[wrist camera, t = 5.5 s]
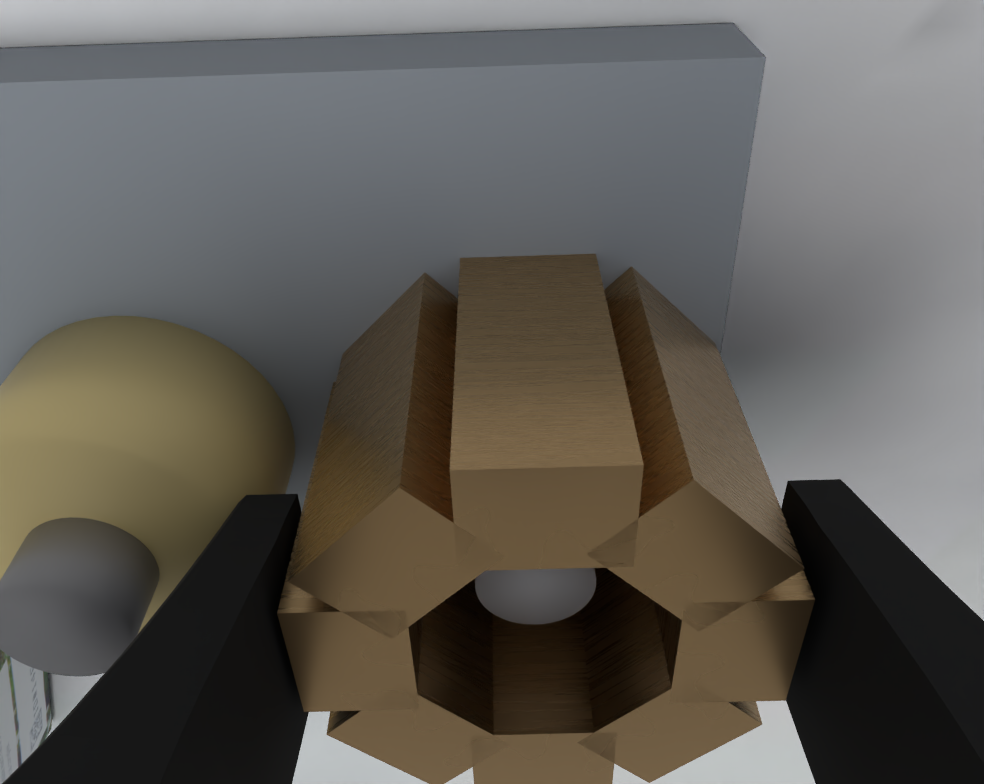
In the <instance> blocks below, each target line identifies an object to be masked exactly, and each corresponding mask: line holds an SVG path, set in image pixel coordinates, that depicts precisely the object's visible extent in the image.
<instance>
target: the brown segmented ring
mask: <svg viewBox="0 0 984 784" xmlns="http://www.w3.org/2000/svg"><path fill="white" fill-rule="evenodd" d="M568 568H595V574H596V589H595V592H594V595H593V596H592V598H591V600H590V601H589V602H588V604H587V605H586V606H585V607H583V608H582V609H581V610H580V611H578V612H577V613H575V614H574V615H572V616H570V617H568V618H565V619H563V620H560V621H556V622H552V623H546V624H520V623H515V622H511V621H507V620H505V619H502V618H500V617H498V616H496V615H494V614H493V613H491V612H490V611H488V610H487V609H486V608H485V607H484V606H483V605H482V603H481V602H480V600H479V599H478V597H477V594H476V589H475V578H476V577H477V576H479V575H480V574H481V573H483V572H484V571H490V570H529V569H568ZM804 569H805V568H804V566H803V563H802V561H801V558H800V556H799V553H798V551H797V548H796V546H795V543H794V541H793V538H792V536H791V533H790V531H789V528H788V526H787V523H786V521H785V518H784V515H783V513H782V510H781V508H780V505H779V503H778V500H777V498H776V495H775V493H774V490H773V488H772V485H771V483H770V480H769V478H768V475H767V473H766V470H765V468H764V465H763V462H762V460H761V457H760V455H759V452H758V450H757V447H756V445H755V442H754V440H753V437H752V435H751V432H750V430H749V427H748V425H747V422H746V420H745V417H744V415H743V412H742V409H741V407H740V404H739V402H738V399H737V397H736V394H735V392H734V389H733V387H732V384H731V382H730V379H729V377H728V374H727V372H726V369H725V367H724V364H723V362H722V359H721V356H720V354H719V351H718V349H717V346H716V344H715V343H714V342H713V341H712V340H711V339H710V338H709V337H708V336H707V335H706V334H705V333H704V332H703V331H701V330H700V329H699V328H698V327H697V326H696V325H695V324H694V323H693V322H692V321H691V320H690V319H688V318H687V317H686V316H685V315H684V314H683V313H682V312H681V311H680V310H679V309H678V308H677V307H675V306H674V305H673V304H672V303H671V302H670V301H669V300H668V299H667V298H666V297H665V296H664V295H662V294H661V293H660V292H659V291H658V290H657V289H656V288H655V287H654V286H653V285H652V284H651V283H649V282H648V281H647V280H646V279H645V278H644V277H643V276H642V275H641V274H640V273H639V272H638V271H636V270H635V269H634V268H633V267H632V266H631V267H630V268H629V269H628V270H627V271H625V272H624V273H623V274H622V275H621V276H620V277H618V278H617V279H616V280H615V281H614V282H613V283H611V284H610V285H609V286H608V287H607V288H606V289H605V290H604V287H603V283H602V278H601V274H600V270H599V265H598V261H597V256H596V254H569V255H535V256H502V257H469V258H460V270H459V290H458V298H456V297H455V296H454V295H453V294H451V293H450V292H449V291H448V290H446V289H445V288H444V287H443V286H441V285H440V284H439V283H438V282H436V281H435V280H434V279H433V278H431V277H430V276H429V275H427V274H426V273H425V272H424V273H423V274H422V275H421V276H420V277H419V278H418V279H417V280H416V281H415V282H414V283H413V284H412V285H411V286H410V287H409V288H408V289H407V290H406V291H405V292H404V293H403V294H402V295H401V296H400V297H399V298H398V299H397V300H396V301H395V302H394V303H393V304H392V305H391V306H390V307H389V308H388V309H387V310H386V311H385V312H384V313H383V314H382V315H381V316H380V317H379V318H378V319H377V320H376V321H375V322H374V323H373V324H372V325H371V326H370V327H369V328H368V329H367V330H366V331H365V332H364V333H363V334H362V335H361V336H360V337H359V338H358V339H357V340H356V341H355V342H354V343H353V344H352V345H351V346H350V347H349V348H348V349H347V350H346V351H345V352H344V353H343V354H342V359H341V363H340V367H339V371H338V375H337V380H336V382H333V386H332V390H331V394H330V398H329V402H328V406H327V410H326V414H325V418H324V423H323V427H322V431H321V435H320V439H319V443H318V447H317V451H316V455H315V459H314V464H313V468H312V472H311V476H310V480H309V484H308V488H307V492H306V496H305V501H304V505H303V509H302V513H301V517H300V521H299V525H298V529H297V533H296V538H295V542H294V546H293V550H292V554H291V558H290V562H289V566H288V570H287V575H286V579H285V583H284V587H283V591H282V595H281V599H280V603H279V607H278V612H277V615H278V618H279V622H280V626H281V629H282V633H283V637H284V640H285V644H286V648H287V651H288V655H289V659H290V662H291V666H292V670H293V673H294V677H295V681H296V684H297V688H298V692H299V695H300V699H301V703H302V706H303V710H304V712H318V711H330V717H329V723H328V729H327V735H328V736H331V737H333V738H335V739H337V740H339V741H341V742H343V743H345V744H347V745H349V746H351V747H354V748H356V749H358V750H360V751H362V752H364V753H366V754H368V755H370V756H372V757H374V758H377V759H379V760H381V761H383V762H385V763H387V764H389V765H391V766H393V767H395V768H398V769H400V770H402V771H404V772H406V773H408V774H410V775H412V776H414V777H416V778H418V779H421V780H423V781H425V782H427V783H429V784H444V783H446V782H448V781H449V780H451V779H453V778H454V777H456V776H458V775H459V774H461V773H463V772H464V771H466V770H468V769H470V768H471V767H473V774H474V784H612V780H613V769H614V763H615V764H616V765H618V766H620V767H622V768H624V769H625V770H627V771H629V772H631V773H633V774H634V775H636V776H638V777H640V778H642V779H643V780H645V781H647V782H649V783H650V782H652V781H654V780H656V779H658V778H660V777H662V776H663V775H665V774H667V773H669V772H671V771H673V770H675V769H677V768H679V767H681V766H683V765H685V764H687V763H689V762H691V761H692V760H694V759H696V758H698V757H700V756H702V755H704V754H706V753H708V752H710V751H712V750H714V749H716V748H718V747H720V746H722V745H723V744H725V743H727V742H729V741H731V740H733V739H735V738H737V737H739V736H741V735H743V734H745V733H747V732H749V731H751V730H752V729H754V728H756V727H758V726H760V725H762V722H761V718H760V715H759V711H758V708H757V704H756V701H781V700H786V698H787V694H788V691H789V688H790V684H791V681H792V677H793V674H794V670H795V667H796V664H797V660H798V657H799V653H800V650H801V646H802V643H803V640H804V636H805V633H806V629H807V626H808V622H809V619H810V616H811V612H812V609H813V605H814V602H815V598H814V596H813V593H812V590H811V588H810V585H809V583H808V580H807V578H806V575H805V573H804Z"/></svg>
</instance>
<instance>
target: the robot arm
mask: <svg viewBox="0 0 984 784" xmlns="http://www.w3.org/2000/svg"><path fill="white" fill-rule="evenodd" d="M781 510H782V513H783V515H784V518H785V521H786V523H787V526H788V528H789V531H790V533H791V536H792V538H793V541H794V543H795V546H796V548H797V551H798V553H799V556H800V558H801V561H802V563H803V566H804V568H805V569H804V573H805V575H806V578H807V580H808V583H809V585H810V588H811V590H812V593H813V596H814V598H815V602H814V605H813V609H812V612H811V616H810V619H809V622H808V626H807V629H806V633H805V636H804V640H803V643H802V646H801V650H800V653H799V657H798V660H797V664H796V667H795V670H794V674H793V677H792V681H791V684H790V688H789V691H788V694H787V698H786V701H787V704H788V707H789V710H790V713H791V715H792V718H793V721H794V724H795V727H796V730H797V732H798V735H799V738H800V741H801V744H802V747H803V749H804V752H805V755H806V758H807V761H808V763H809V766H810V769H811V772H812V774H813V777H814V780H815V783H816V784H984V621H983V620H982V619H981V618H980V617H979V616H978V615H977V614H976V613H975V612H974V611H973V610H972V609H970V608H969V607H968V606H967V605H966V604H965V603H964V602H963V601H962V600H961V599H960V598H959V597H958V596H957V595H956V594H955V593H954V592H952V591H951V590H950V589H949V588H948V587H947V586H946V585H945V584H944V583H943V582H942V581H941V580H940V579H939V578H938V577H937V576H936V575H935V574H934V573H933V572H932V571H931V570H930V569H929V568H928V567H927V566H926V565H925V564H924V563H923V562H922V561H921V560H920V559H919V558H918V557H917V556H916V555H915V554H914V553H913V552H912V551H911V550H910V549H909V548H908V547H907V546H906V545H905V544H904V543H903V542H902V541H901V540H900V539H899V538H898V537H897V536H896V535H895V534H894V533H893V532H892V531H891V530H890V529H889V528H888V527H887V526H886V525H885V524H884V523H883V522H882V521H881V520H880V519H879V518H878V517H877V516H876V515H875V514H874V513H873V512H872V511H871V510H870V509H869V508H868V507H867V505H866V504H865V503H864V502H863V501H862V500H861V499H860V498H859V497H858V496H857V495H856V494H855V493H854V492H853V491H852V490H851V489H850V488H849V487H848V486H847V485H846V484H845V483H844V482H843V481H842V480H841V479H836V480H798V481H788V482H787V487H786V491H785V495H784V500H783V504H782V508H781ZM301 513H302V512H301V507H300V503H299V498H298V494H266V495H246V496H245V497H244V498H243V499H242V500H241V501H240V502H239V503H238V504H237V505H236V507H235V508H234V509H233V511H232V512H231V514H230V515H229V516H228V518H227V519H226V520H225V522H224V523H223V524H222V526H221V527H220V529H219V530H218V531H217V533H216V534H215V535H214V537H213V538H212V540H211V541H210V542H209V544H208V545H207V546H206V548H205V549H204V550H203V552H202V553H201V554H200V556H199V557H198V558H197V560H196V561H195V562H194V564H193V565H192V566H191V568H190V569H189V570H188V572H187V573H186V574H185V575H184V577H183V578H182V579H181V581H180V582H179V583H178V585H177V586H176V587H175V589H174V590H173V591H172V592H171V594H170V595H169V596H168V597H167V599H166V600H165V601H164V602H163V604H162V605H161V606H160V607H159V609H158V610H157V611H156V612H155V614H154V615H153V616H152V617H151V619H150V620H149V621H148V622H147V624H146V625H145V626H144V627H143V629H142V630H141V631H140V632H139V634H138V635H137V636H136V637H135V639H134V640H133V641H132V642H131V643H130V645H129V646H128V647H127V648H126V649H125V651H124V652H123V653H122V654H121V655H120V657H119V658H118V659H117V660H116V661H115V662H114V663H113V665H112V666H111V667H110V668H109V669H108V670H107V671H106V673H105V674H104V675H103V676H102V677H101V678H100V679H99V681H98V682H97V683H96V684H95V685H94V686H93V687H92V688H91V690H90V691H89V692H88V693H87V694H86V695H85V696H84V698H83V699H82V700H81V701H80V702H79V703H78V704H77V706H76V707H75V708H74V709H73V710H72V711H71V712H70V713H69V715H68V716H67V717H66V718H65V719H64V720H63V721H62V722H61V723H60V724H59V725H58V727H57V728H56V729H55V730H54V731H53V732H52V733H51V734H50V735H49V736H48V737H47V738H46V739H45V740H44V741H43V742H42V744H41V745H40V746H39V747H38V748H37V749H36V750H35V751H34V752H33V753H32V754H31V755H30V756H29V757H28V758H27V759H26V760H25V761H24V762H23V763H22V764H21V765H20V766H19V767H18V768H17V769H16V770H15V771H14V772H13V773H12V774H11V775H10V776H9V777H8V778H7V779H6V780H5V781H4V782H3V783H2V784H292V781H293V776H294V772H295V768H296V764H297V760H298V755H299V751H300V747H301V742H302V738H303V734H304V730H305V725H306V721H307V717H308V712H304V710H303V706H302V703H301V699H300V695H299V692H298V688H297V684H296V681H295V677H294V673H293V670H292V666H291V662H290V659H289V655H288V651H287V648H286V644H285V640H284V637H283V633H282V629H281V626H280V622H279V618H278V615H277V612H278V607H279V603H280V599H281V595H282V591H283V587H284V583H285V579H286V575H287V570H288V566H289V562H290V558H291V554H292V550H293V546H294V542H295V538H296V533H297V529H298V525H299V521H300V517H301Z"/></svg>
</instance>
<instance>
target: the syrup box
mask: <svg viewBox="0 0 984 784" xmlns="http://www.w3.org/2000/svg"><path fill="white" fill-rule="evenodd" d="M47 675H48V672H44V671H41V670H38V669H35V668H32V667H30V666H27V665H25V664H23V663H21V662H19V661H17V660H15V659H13V658H12V657H10V656H9V655H7V654H6V653H4V652H3V651H2V650H1V649H0V784H2V783H3V782H4V781H5V780H6V779H7V778H8V777H9V776H10V775H11V774H12V773H13V772H14V771H15V770H16V769H17V768H18V767H19V766H20V765H21V764H22V763H23V762H24V761H25V760H26V759H27V758H28V757H29V756H30V755H31V754H32V753H33V752H34V751H35V750H36V749H37V748H38V747H39V746H40V745H41V744H42V742H43V741H44V740H45V739H46V738H47V735H48V733H49V732H50V730H51V723H52V718H51V703H50V698H49V684H48V677H47Z"/></svg>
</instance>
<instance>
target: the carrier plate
mask: <svg viewBox="0 0 984 784" xmlns="http://www.w3.org/2000/svg"><path fill="white" fill-rule="evenodd" d="M765 59H766V57H765V56H764V55H763V54H762V53H761V52H760V51H759V50H758V48H757V47H756V46H755V45H754V44H753V43H752V42H751V41H750V40H749V39H748V38H747V37H746V36H745V35H744V34H743V33H742V32H741V31H740V30H739V28H738V27H737V26H736V25H735V24H734V23H724V24H695V25H666V26H637V27H607V28H578V29H549V30H519V31H490V32H461V33H431V34H402V35H373V36H343V37H314V38H285V39H256V40H226V41H197V42H168V43H138V44H109V45H80V46H50V47H21V48H0V649H1V650H2V651H3V652H4V653H6V654H7V655H9V656H10V657H12V658H13V659H15V660H17V661H19V662H21V663H23V664H25V665H27V666H30V667H32V668H35V669H38V670H41V671H44V672H48V673H52V674H58V675H65V676H91V675H97V674H101V673H105V672H106V671H107V670H108V669H109V668H110V667H111V666H112V665H113V663H114V662H115V661H116V660H117V659H118V658H119V657H120V655H121V654H122V653H123V652H124V651H125V649H126V648H127V647H128V646H129V645H130V643H131V642H132V641H133V640H134V639H135V637H136V636H137V635H138V634H139V632H140V631H141V630H142V629H143V627H144V626H145V625H146V624H147V622H148V621H149V620H150V619H151V617H152V616H153V615H154V614H155V612H156V611H157V610H158V609H159V607H160V606H161V605H162V604H163V602H164V601H165V600H166V599H167V597H168V596H169V595H170V594H171V592H172V591H173V590H174V589H175V587H176V586H177V585H178V583H179V582H180V581H181V579H182V578H183V577H184V575H185V574H186V573H187V572H188V570H189V569H190V568H191V566H192V565H193V564H194V562H195V561H196V560H197V558H198V557H199V556H200V554H201V553H202V552H203V550H204V549H205V548H206V546H207V545H208V544H209V542H210V541H211V540H212V538H213V537H214V535H215V534H216V533H217V531H218V530H219V529H220V527H221V526H222V524H223V523H224V522H225V520H226V519H227V518H228V516H229V515H230V514H231V512H232V511H233V509H234V508H235V507H236V505H237V504H238V503H239V502H240V501H241V500H242V499H243V498H244V497H245V496H246V495H266V494H298V498H299V503H300V507H301V512H302V509H303V505H304V501H305V496H306V492H307V488H308V484H309V480H310V476H311V472H312V468H313V464H314V459H315V455H316V451H317V447H318V443H319V439H320V435H321V431H322V427H323V423H324V418H325V414H326V410H327V406H328V402H329V398H330V394H331V390H332V386H333V382H336V380H337V375H338V371H339V367H340V363H341V359H342V354H343V353H344V352H345V351H346V350H347V349H348V348H349V347H350V346H351V345H352V344H353V343H354V342H355V341H356V340H357V339H358V338H359V337H360V336H361V335H362V334H363V333H364V332H365V331H366V330H367V329H368V328H369V327H370V326H371V325H372V324H373V323H374V322H375V321H376V320H377V319H378V318H379V317H380V316H381V315H382V314H383V313H384V312H385V311H386V310H387V309H388V308H389V307H390V306H391V305H392V304H393V303H394V302H395V301H396V300H397V299H398V298H399V297H400V296H401V295H402V294H403V293H404V292H405V291H406V290H407V289H408V288H409V287H410V286H411V285H412V284H413V283H414V282H415V281H416V280H417V279H418V278H419V277H420V276H421V275H422V274H423V273H424V272H425V273H426V274H427V275H429V276H430V277H431V278H433V279H434V280H435V281H436V282H438V283H439V284H440V285H441V286H443V287H444V288H445V289H446V290H448V291H449V292H450V293H451V294H453V295H454V296H455V297H456V298H458V290H459V270H460V258H469V257H502V256H535V255H569V254H596V256H597V261H598V265H599V270H600V274H601V278H602V283H603V287H604V290H605V289H606V288H607V287H608V286H609V285H610V284H611V283H613V282H614V281H615V280H616V279H617V278H618V277H620V276H621V275H622V274H623V273H624V272H625V271H627V270H628V269H629V268H630V267H631V266H632V267H633V268H634V269H635V270H636V271H638V272H639V273H640V274H641V275H642V276H643V277H644V278H645V279H646V280H647V281H648V282H649V283H651V284H652V285H653V286H654V287H655V288H656V289H657V290H658V291H659V292H660V293H661V294H662V295H664V296H665V297H666V298H667V299H668V300H669V301H670V302H671V303H672V304H673V305H674V306H675V307H677V308H678V309H679V310H680V311H681V312H682V313H683V314H684V315H685V316H686V317H687V318H688V319H690V320H691V321H692V322H693V323H694V324H695V325H696V326H697V327H698V328H699V329H700V330H701V331H703V332H704V333H705V334H706V335H707V336H708V337H709V338H710V339H711V340H712V341H713V342H714V343H715V344H716V346H717V349H718V351H719V354H720V353H721V347H722V340H723V334H724V327H725V321H726V314H727V307H728V301H729V294H730V288H731V281H732V275H733V268H734V262H735V255H736V248H737V242H738V235H739V229H740V222H741V216H742V209H743V203H744V196H745V190H746V183H747V176H748V170H749V163H750V157H751V150H752V144H753V137H754V131H755V124H756V117H757V111H758V104H759V98H760V91H761V85H762V78H763V72H764V65H765ZM475 589H476V594H477V597H478V599H479V600H480V602H481V603H482V605H483V606H484V607H485V608H486V609H487V610H488V611H490V612H491V613H493V614H494V615H496V616H498V617H500V618H502V619H505V620H507V621H511V622H515V623H520V624H546V623H552V622H556V621H560V620H563V619H565V618H568V617H570V616H572V615H574V614H575V613H577V612H578V611H580V610H581V609H582V608H583V607H585V606H586V605H587V604H588V602H589V601H590V600H591V598H592V596H593V595H594V592H595V589H596V574H595V568H568V569H529V570H490V571H484V572H483V573H481V574H480V575H479V576H477V577H476V578H475Z"/></svg>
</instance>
